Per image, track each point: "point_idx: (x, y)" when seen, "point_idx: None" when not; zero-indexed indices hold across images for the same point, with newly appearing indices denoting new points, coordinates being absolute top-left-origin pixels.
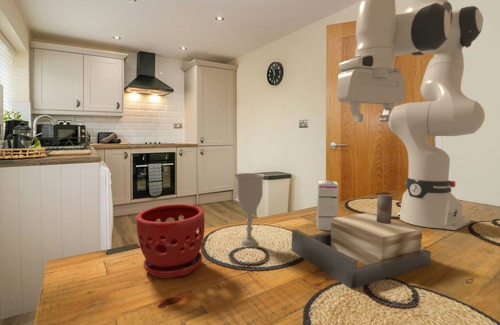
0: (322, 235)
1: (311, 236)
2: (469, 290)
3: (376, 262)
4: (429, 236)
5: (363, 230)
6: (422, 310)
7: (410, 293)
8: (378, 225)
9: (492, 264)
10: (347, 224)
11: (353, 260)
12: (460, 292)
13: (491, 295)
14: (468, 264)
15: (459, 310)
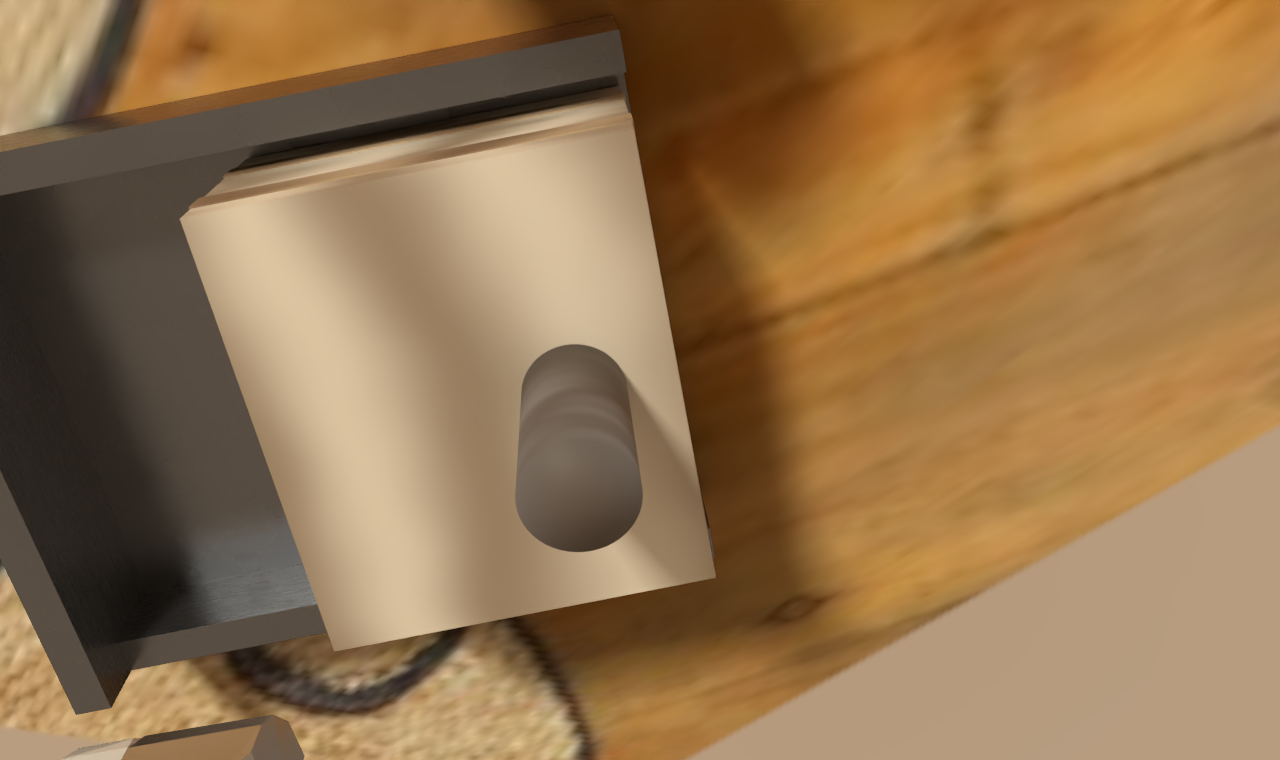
0: (149, 165)
1: (46, 167)
2: (704, 668)
3: (295, 608)
4: (1249, 54)
5: (289, 524)
6: (377, 734)
7: (422, 642)
8: (465, 463)
9: (1107, 510)
10: (242, 387)
11: (90, 702)
12: (649, 673)
13: (754, 709)
14: (982, 485)
15: (520, 756)
